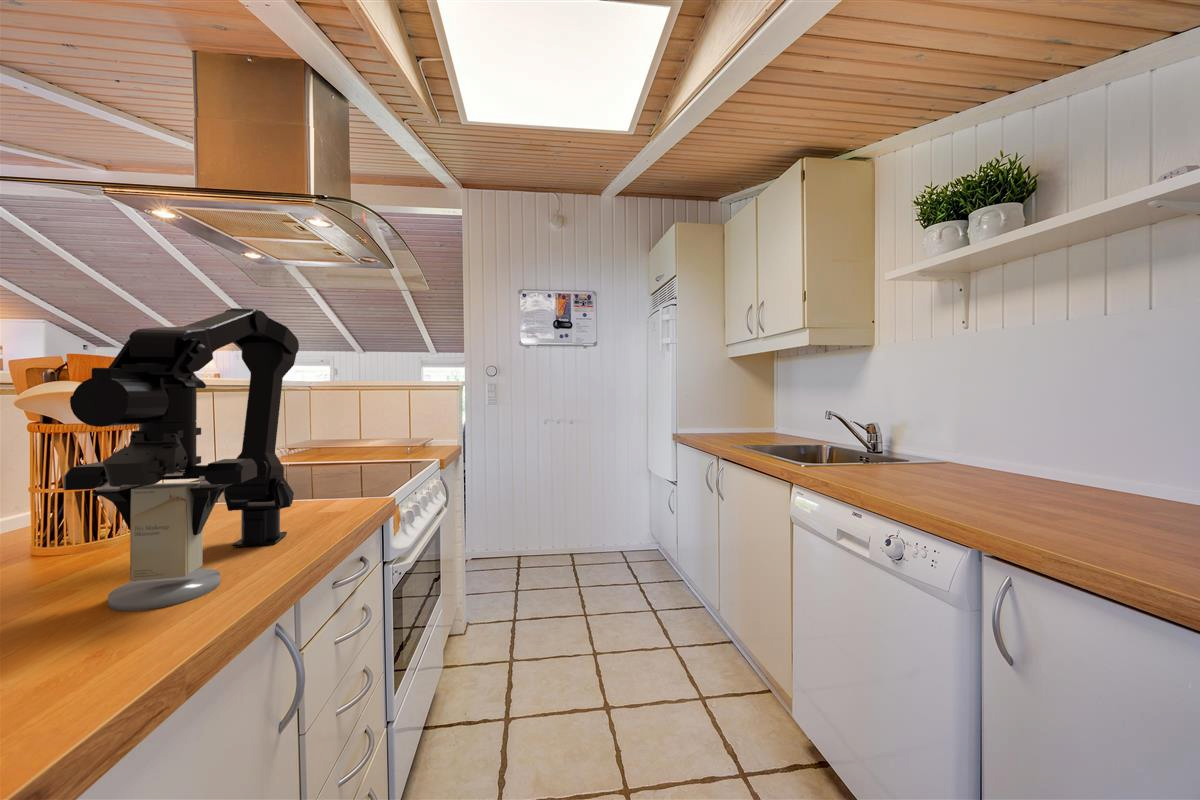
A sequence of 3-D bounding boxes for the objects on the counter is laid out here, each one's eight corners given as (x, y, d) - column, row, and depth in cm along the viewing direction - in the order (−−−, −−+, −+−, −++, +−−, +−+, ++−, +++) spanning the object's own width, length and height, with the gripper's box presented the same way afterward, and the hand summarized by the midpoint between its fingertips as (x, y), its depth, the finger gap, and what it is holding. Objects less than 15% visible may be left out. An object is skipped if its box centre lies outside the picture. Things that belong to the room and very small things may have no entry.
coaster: (143, 581, 66) (143, 572, 66) (234, 573, 69) (234, 565, 69) (83, 616, 55) (83, 606, 55) (194, 605, 58) (194, 595, 58)
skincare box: (128, 582, 59) (126, 489, 59) (152, 570, 63) (149, 483, 63) (187, 577, 61) (185, 486, 60) (206, 564, 65) (204, 480, 65)
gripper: (22, 426, 51) (22, 564, 51) (221, 425, 57) (220, 549, 57) (97, 420, 62) (97, 535, 62) (258, 420, 67) (258, 525, 68)
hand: (168, 536), depth 62 cm, fingers closed on skincare box, 6 cm apart
